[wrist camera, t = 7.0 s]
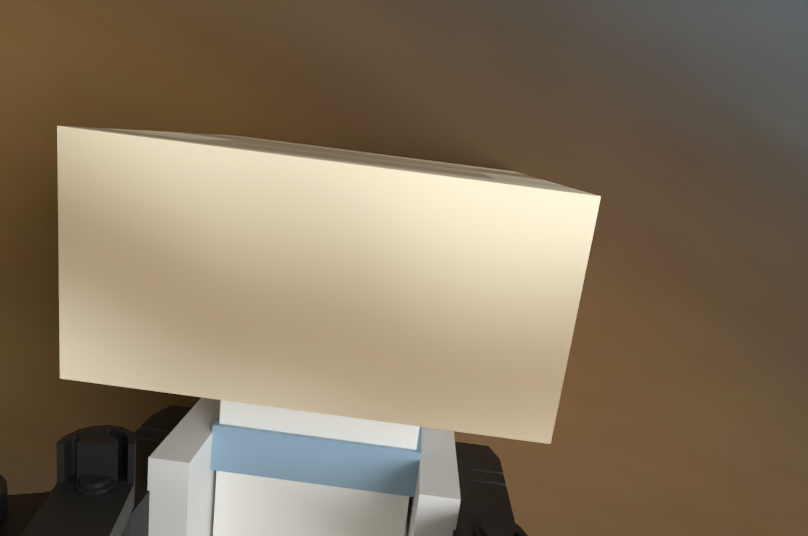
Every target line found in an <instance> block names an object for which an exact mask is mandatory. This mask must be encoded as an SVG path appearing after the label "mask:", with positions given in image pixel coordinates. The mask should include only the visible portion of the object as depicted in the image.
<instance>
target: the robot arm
mask: <svg viewBox="0 0 808 536" xmlns="http://www.w3.org/2000/svg"><path fill="white" fill-rule="evenodd" d="M220 403H221V400H217V399H210V398H202V397H201V399H200V400H199V401H198V402H197V403H196V404H195V405H194V407H193V408H187V407H179V406H172V405H171V406H169V407H167V408H165V409H163V410H161V411H159V412H157V413H155V414H153V415H152V416H151V417H150V418H149V419H148V420H147V421H146V422H145V423H144V424H143V425H142V427H141V428H139V429H138V430H137V431H136V432H135V433H134V434H133V432H132V431H130V430H128V429H126V428H123V427H119V426H111V425H104V426H92V427H88V428H84V429H79V430H77V431H75V432H72V433H70V434H68V435H66V436H64V437H63V438H62V439H61V440H60V441H58V442H57V484H56V486H55V487H54V489H53V490H52V491H51V492H44V493H33V494H19V495H7V481H6V480H5V479H4V478H3V476H2V475H0V536H213V523H214V506H215V489H216V472H217V471H215V470H210V466H211V448H212V426H213V424H214V423H215V421H216V420H217V419H218V417H219V416H220ZM405 536H527V535H526V533H525V532H524V531H523V529H522V528H521V527H520V526H518V525H517V524H515V521H514V517H513V513H512V508H511V504H510V500H509V496H508V492H507V488H506V486H505V479H504V475H503V471H502V467H501V463H500V459H499V458H498V457H497V455H496V454H495V453H494V452H493V451H492V450H491V449H490V447H489V446H483V445H475V444H468V443H460V442H455V438H454V431H450V430H442V429H435V428H427V427H422V433H421V459H420V463H419V470H418V476H417V483H416V490H415V497H409V504H408V511H407V518H406V525H405Z"/></svg>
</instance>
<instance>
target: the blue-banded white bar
mask: <svg viewBox="0 0 808 536" xmlns="http://www.w3.org/2000/svg"><path fill="white" fill-rule="evenodd" d="M421 433H422V427H420V426H412V425H405V424H397V423H390V422H382V421H375V420H367V419H360V418H352V417H345V416H337V415H330V414H322V413H315V412H307V411H300V410H292V409H285V408H277V407H270V406H262V405H255V404H247V403H240V402H232V401H225V400H221V403H220V416H219V417H218V419H217V420H216V421H215V423H214V424H213V426H212V448H211V466H210V470H215V471H217V472H216V489H215V506H214V523H213V536H404V532H405V525H406V518H407V511H408V504H409V497H415V490H416V483H417V476H418V470H419V463H420V459H421Z"/></svg>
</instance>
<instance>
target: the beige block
mask: <svg viewBox="0 0 808 536" xmlns="http://www.w3.org/2000/svg"><path fill="white" fill-rule="evenodd" d="M57 161H58V253H59V344H60V379H67V380H75V381H82V382H90V383H97V384H105V385H112V386H120V387H127V388H135V389H142V390H150V391H157V392H165V393H172V394H180V395H187V396H195V397H202V398H210V399H217V400H225V401H232V402H240V403H247V404H255V405H262V406H270V407H277V408H285V409H292V410H300V411H307V412H315V413H322V414H330V415H337V416H345V417H352V418H360V419H367V420H375V421H382V422H390V423H397V424H405V425H412V426H420V427H427V428H435V429H442V430H450V431H457V432H465V433H472V434H480V435H487V436H495V437H502V438H510V439H517V440H525V441H533V442H540V443H548V444H551V439H552V434H553V429H554V424H555V419H556V414H557V409H558V405H559V400H560V395H561V390H562V385H563V380H564V375H565V370H566V365H567V360H568V356H569V351H570V346H571V341H572V336H573V331H574V326H575V321H576V316H577V311H578V306H579V302H580V297H581V292H582V287H583V282H584V277H585V272H586V267H587V262H588V257H589V252H590V248H591V243H592V238H593V233H594V228H595V223H596V218H597V213H598V208H599V203H600V198H601V196H598V195H594V194H591V193H587V192H584V191H580V190H577V189H573V188H570V187H567V186H563V185H560V184H556V183H553V182H549V181H546V180H542V179H539V178H535V177H532V176H528V175H525V174H521V173H518V172H514V171H508V170H501V169H493V168H485V167H477V166H470V165H462V164H454V163H447V162H439V161H431V160H423V159H416V158H408V157H400V156H393V155H385V154H377V153H370V152H362V151H354V150H346V149H339V148H331V147H323V146H316V145H308V144H300V143H292V142H285V141H277V140H269V139H262V138H254V137H246V136H237V135H219V134H201V133H182V132H164V131H145V130H127V129H109V128H90V127H72V126H57Z"/></svg>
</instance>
